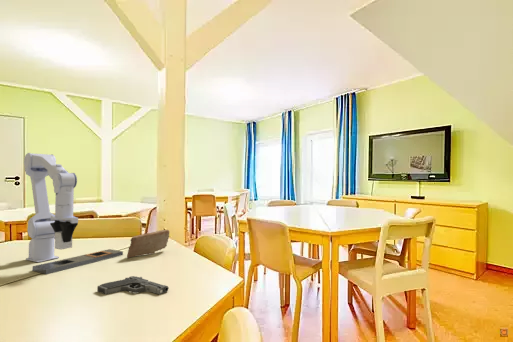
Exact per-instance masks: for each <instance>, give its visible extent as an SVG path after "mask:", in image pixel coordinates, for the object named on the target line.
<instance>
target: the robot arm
mask: <svg viewBox="0 0 513 342" xmlns="http://www.w3.org/2000/svg"><path fill="white" fill-rule="evenodd" d="M23 159H24V160H23V165H24V172H25V175H27V176H28V177H30V178H29V179H30V182H31V190H32V196H33V197H32V198H33V206H34V213H35V215H33V216H32V217H30V218H29V220H28V221H27V235H28V237H30V238H31V239H30V241H29V242H28V257H26V258H25V260H27V261H31V262H34V263H35V262H36V263H42V262H45V261H46V262H47V261H49V260H51V261H52V260H55V259H59V258H60V256H57V255H55V232H59V231H62V233H63V241H64V242H70V241H71V238H72V239H73V235H74V231H75V230H76V228H77V227H78V223H79V217H76V216H75V215H74V200H75V199H74V197H75V196H74V194H75V193H74V192H75V190H74V189H75V188H76V187H77V184H78V176H77V175H76V173H75V172H68V171H67V170H66V168H64V166H63V165H62V164H60V163H57V159H56V156H55V155H54V154H48V153H31V152H27V153H26V154H25V156H24V158H23ZM47 176H48V177H49V178H50V179H52V185H53V191H54V193H55V202H54V205H55V207H54V208H55V211H54V213H53V212H50V203H49V197H48V190H47V189H48V188H47V183H46V178H47Z"/></svg>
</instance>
